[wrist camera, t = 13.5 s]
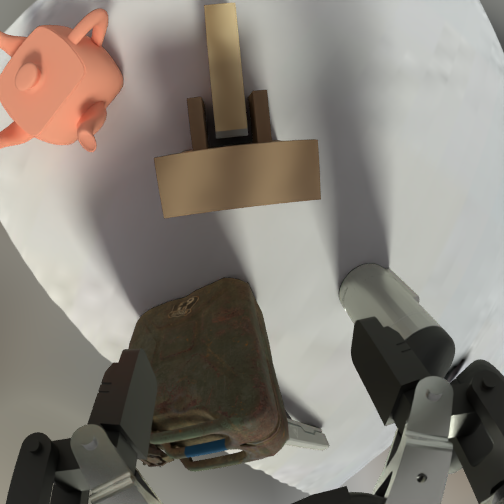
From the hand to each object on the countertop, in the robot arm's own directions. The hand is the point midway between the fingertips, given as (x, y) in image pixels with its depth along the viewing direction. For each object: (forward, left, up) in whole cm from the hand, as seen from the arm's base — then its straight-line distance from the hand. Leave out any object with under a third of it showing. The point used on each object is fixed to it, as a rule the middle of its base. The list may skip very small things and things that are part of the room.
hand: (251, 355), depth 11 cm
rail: (-1, -16, -30) cm, 34 cm away
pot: (+20, -18, -30) cm, 41 cm away
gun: (-8, +50, -30) cm, 59 cm away
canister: (+7, +18, -30) cm, 36 cm away
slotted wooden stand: (-1, -7, -30) cm, 31 cm away
